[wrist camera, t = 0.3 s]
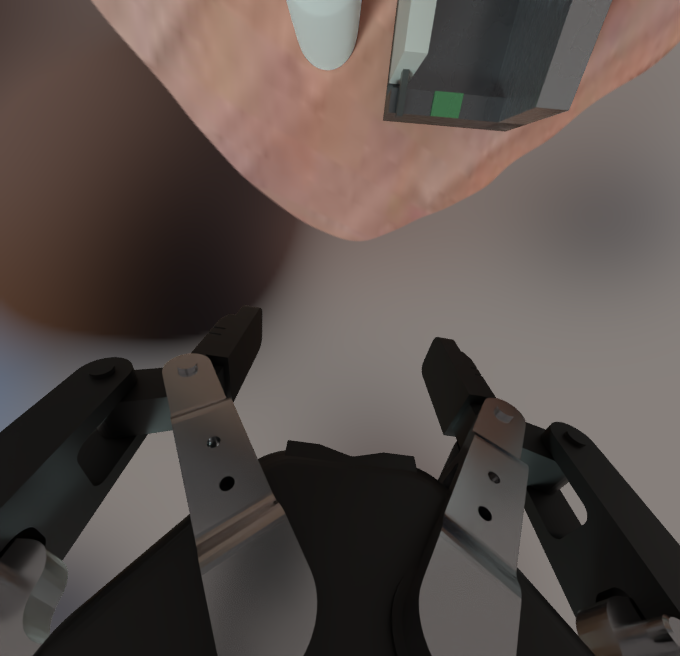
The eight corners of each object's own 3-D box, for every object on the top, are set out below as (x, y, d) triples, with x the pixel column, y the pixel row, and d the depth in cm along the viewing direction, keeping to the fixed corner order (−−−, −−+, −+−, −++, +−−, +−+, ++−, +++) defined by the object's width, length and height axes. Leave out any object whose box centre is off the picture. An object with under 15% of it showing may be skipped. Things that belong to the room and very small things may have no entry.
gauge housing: (405, -71, 24) (443, -217, 15) (562, -53, 24) (684, -184, 16) (383, 120, 30) (400, 94, 22) (505, 131, 31) (568, 110, 22)
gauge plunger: (402, -30, 24) (426, -113, 17) (423, -28, 24) (455, -110, 17) (383, 123, 30) (396, 105, 23) (400, 125, 30) (418, 107, 23)
